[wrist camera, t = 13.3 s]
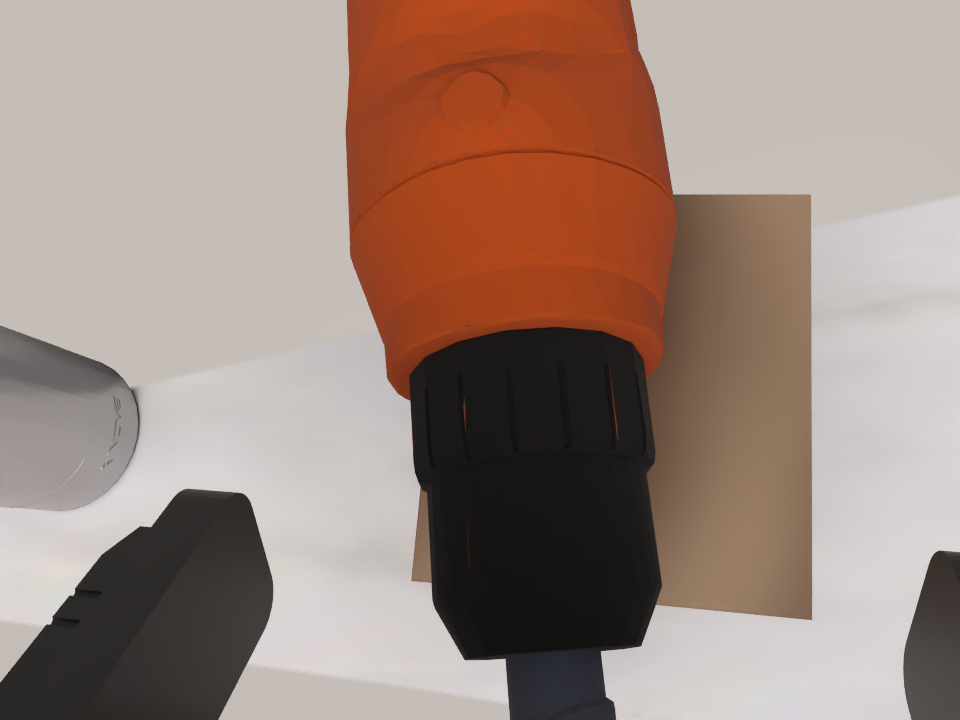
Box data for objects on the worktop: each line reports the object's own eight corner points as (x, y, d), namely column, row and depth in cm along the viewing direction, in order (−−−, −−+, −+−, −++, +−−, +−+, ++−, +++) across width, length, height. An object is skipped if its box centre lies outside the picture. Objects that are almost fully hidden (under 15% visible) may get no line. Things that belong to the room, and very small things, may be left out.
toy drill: (534, 908, 18) (139, 1642, 5) (475, 184, 25) (246, -401, 11) (761, 902, 18) (1122, 1770, 4) (637, 155, 24) (602, -513, 11)
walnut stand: (524, 570, 43) (411, 580, 22) (538, 364, 45) (450, 194, 24) (724, 588, 41) (811, 619, 20) (728, 372, 43) (811, 194, 22)
